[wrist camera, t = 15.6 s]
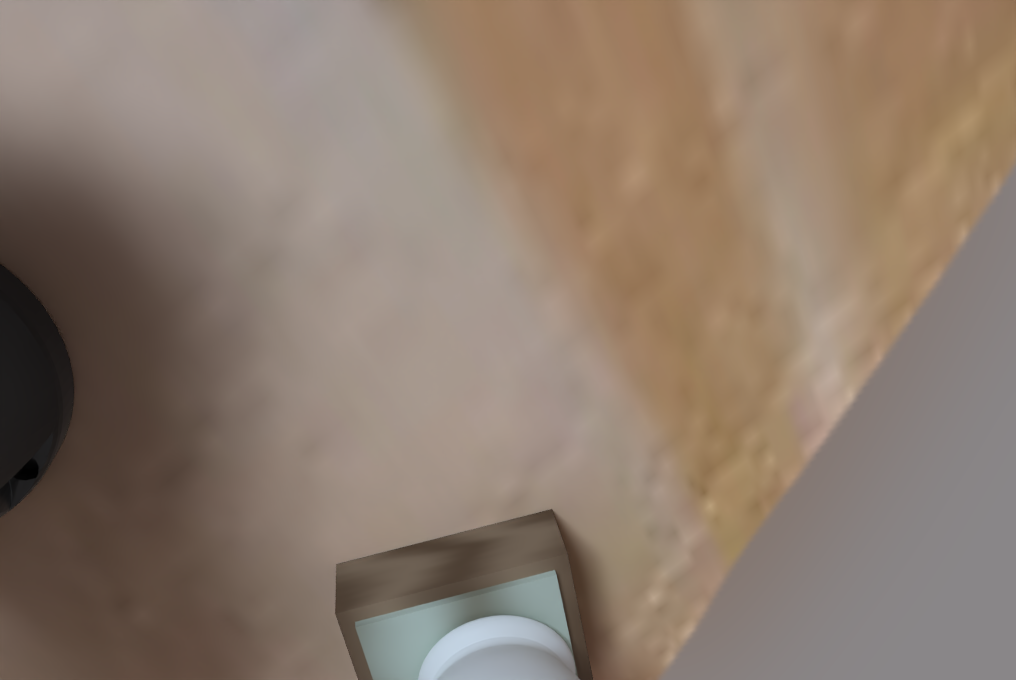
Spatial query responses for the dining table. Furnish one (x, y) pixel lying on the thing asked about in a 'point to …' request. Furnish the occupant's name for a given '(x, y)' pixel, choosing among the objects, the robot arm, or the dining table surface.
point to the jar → (500, 652)
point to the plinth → (456, 594)
